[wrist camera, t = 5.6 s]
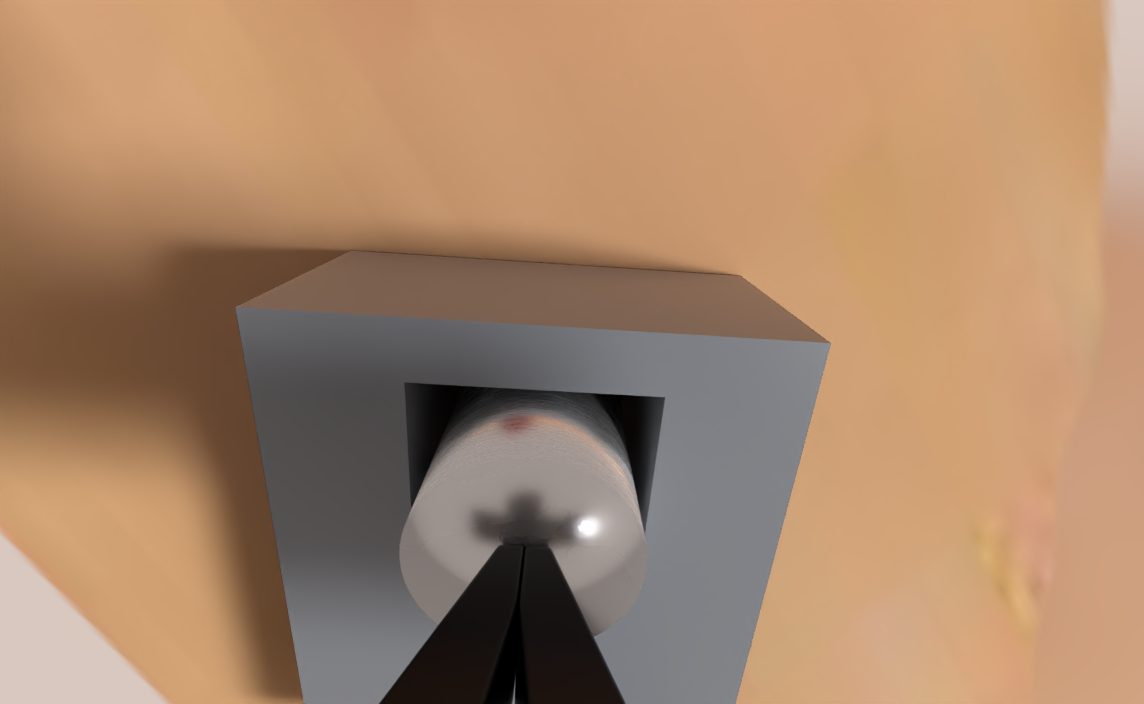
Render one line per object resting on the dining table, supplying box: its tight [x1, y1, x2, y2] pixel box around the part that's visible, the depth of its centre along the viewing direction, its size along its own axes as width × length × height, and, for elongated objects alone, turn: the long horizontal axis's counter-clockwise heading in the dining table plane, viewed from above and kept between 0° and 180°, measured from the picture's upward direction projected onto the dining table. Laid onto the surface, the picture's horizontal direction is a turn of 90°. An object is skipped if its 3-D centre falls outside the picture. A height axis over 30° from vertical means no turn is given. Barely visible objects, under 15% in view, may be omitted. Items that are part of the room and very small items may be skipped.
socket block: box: [235, 250, 831, 704], centre depth 14 cm, size 17×10×5 cm, turn 176°
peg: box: [399, 386, 648, 637], centre depth 11 cm, size 4×4×5 cm
